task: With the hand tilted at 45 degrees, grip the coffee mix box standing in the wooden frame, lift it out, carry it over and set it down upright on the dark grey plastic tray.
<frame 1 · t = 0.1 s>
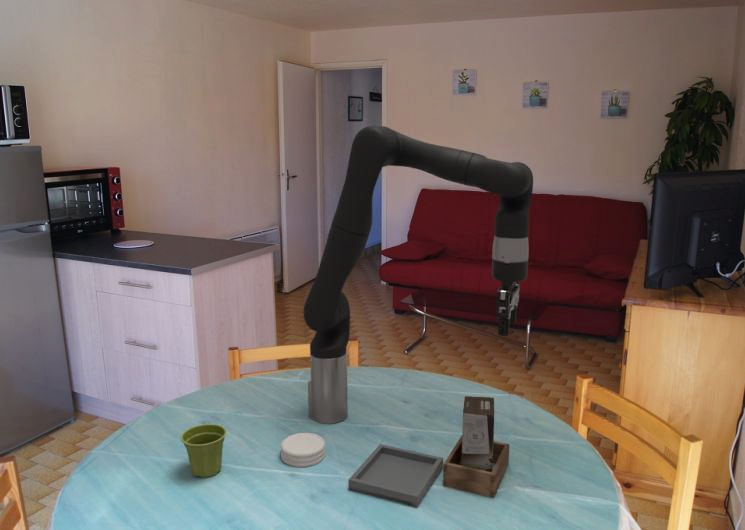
hand: (506, 329, 134), 29 cm above the table, tool pointing down, fingers open, 8 cm apart
coaster: (303, 457, 138), on the table
coffee box: (476, 476, 130), resting in wooden frame
tray: (397, 478, 129), on the table
wooden frame: (476, 475, 130), on the table
plant pot: (206, 471, 132), on the table
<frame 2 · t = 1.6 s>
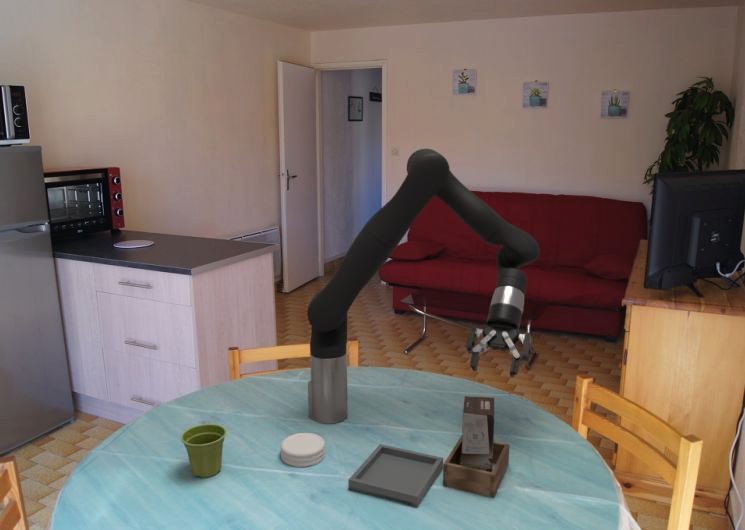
hand: (492, 372, 136), 19 cm above the table, tool tilted 45°, fingers open, 8 cm apart
nothing on the table moved.
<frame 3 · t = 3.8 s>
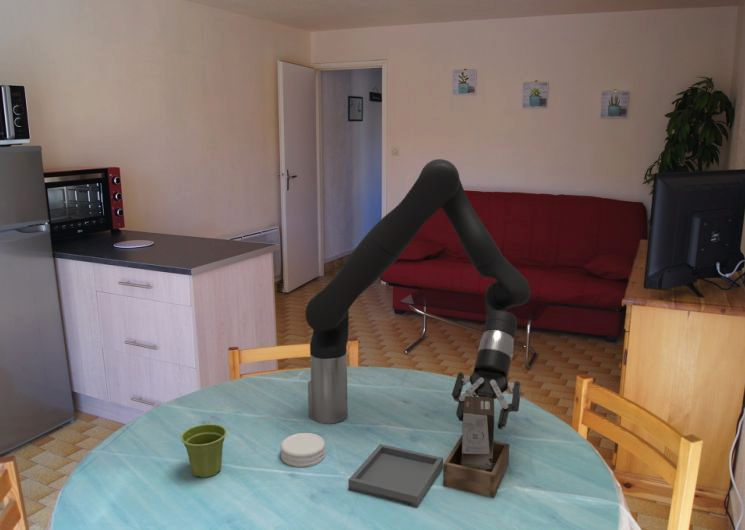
hand: (480, 423, 129), 11 cm above the table, tool tilted 45°, fingers open, 8 cm apart
nothing on the table moved.
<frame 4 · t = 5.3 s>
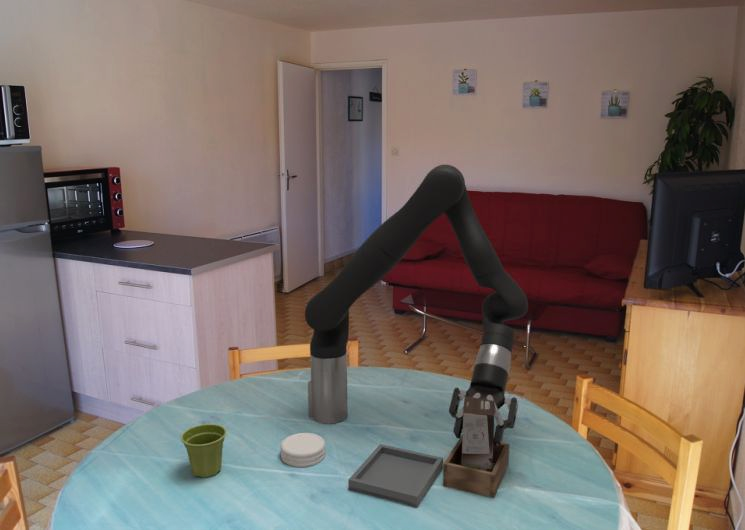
hand: (476, 441, 127), 9 cm above the table, tool tilted 45°, fingers closed on coffee box, 7 cm apart
coffee box: (476, 475, 130), resting in wooden frame, touching gripper
everything else where it was.
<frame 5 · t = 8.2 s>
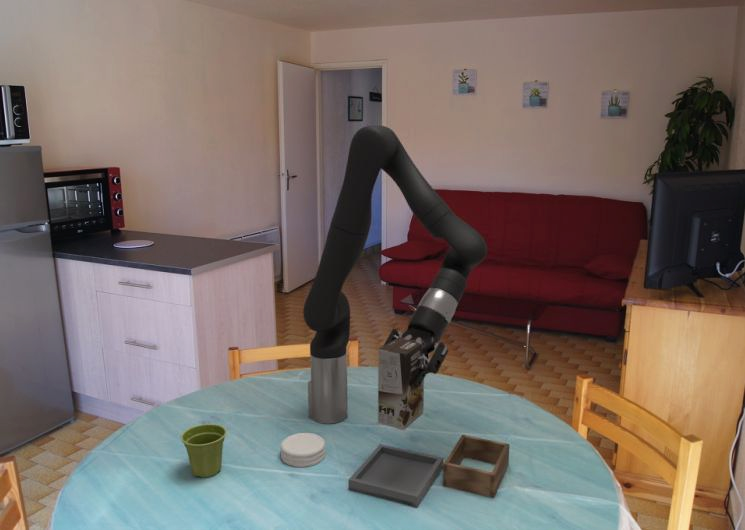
hand: (397, 381, 123), 22 cm above the table, tool tilted 45°, fingers closed on coffee box, 7 cm apart
coffee box: (401, 419, 126), point 13 cm above the table, touching gripper
everything else where it was.
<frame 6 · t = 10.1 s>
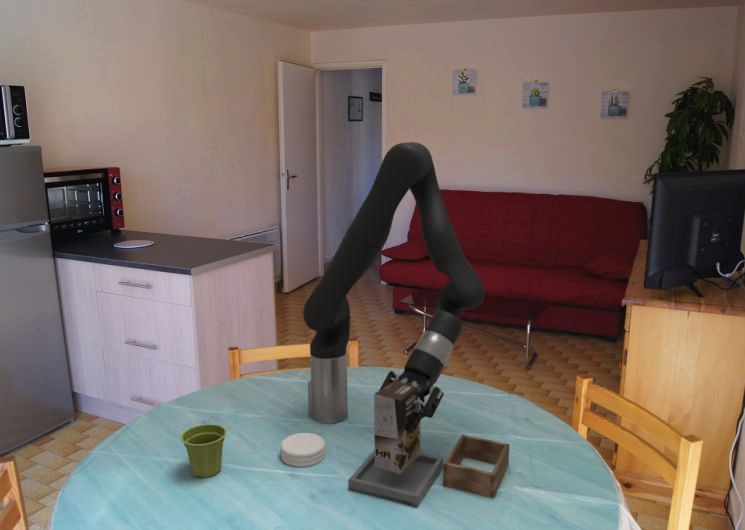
hand: (393, 425, 125), 13 cm above the table, tool tilted 45°, fingers closed on coffee box, 7 cm apart
coffee box: (398, 461, 128), point 4 cm above the table, touching gripper
everything else where it was.
when the fingers open (11 cm above the table, at t = 11.2 s): coffee box drops 1 cm, resting on tray.
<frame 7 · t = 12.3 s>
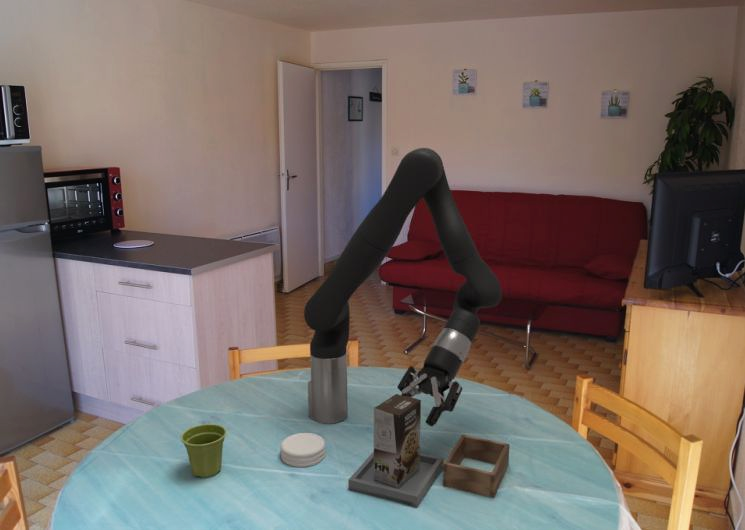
hand: (413, 418, 130), 12 cm above the table, tool tilted 45°, fingers open, 8 cm apart
coffee box: (397, 475, 129), point 1 cm above the table, touching tray
everything else where it was.
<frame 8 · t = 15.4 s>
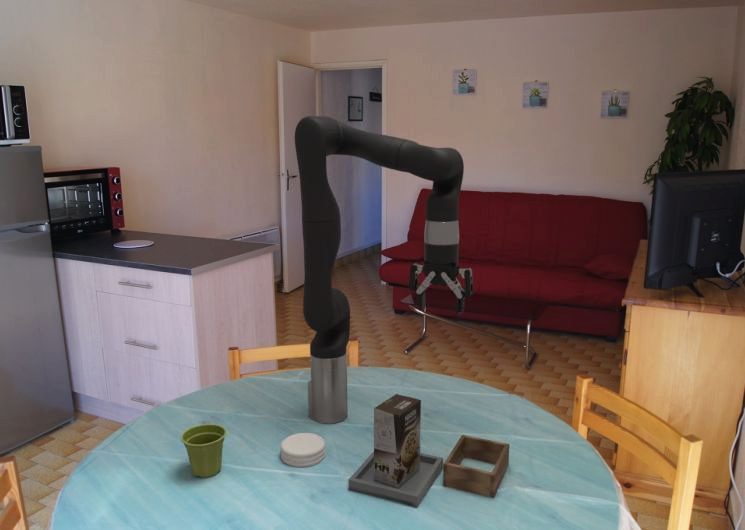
hand: (440, 311, 137), 32 cm above the table, tool pointing down, fingers open, 8 cm apart
nothing on the table moved.
at the end: coffee box inside the target area on the tray (0.1 cm from its centre), point 0.6 cm above the tray's base; coffee box tilted 0°; the gripper is holding nothing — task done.
